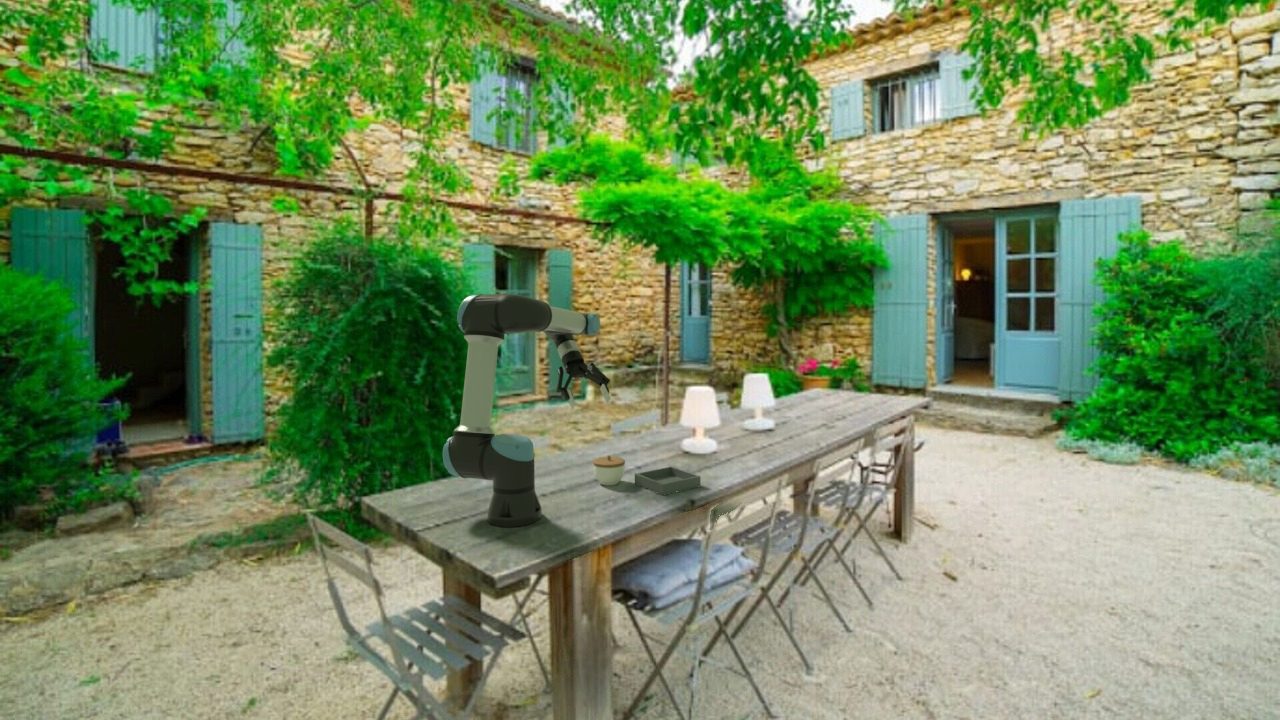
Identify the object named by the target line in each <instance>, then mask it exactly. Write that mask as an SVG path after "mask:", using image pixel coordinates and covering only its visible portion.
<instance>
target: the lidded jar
mask: <svg viewBox="0 0 1280 720" xmlns="http://www.w3.org/2000/svg"><path fill="white" fill-rule="evenodd" d="M625 463H626V460H625V459H624V458H622V457H618V456H611V455H607V456H601V457H597V458H595V459H593V461H592V464H593V473H594V477H595V478H596V480H597V481H598V482H599V483H600V485H601V486H615V485H618V484H619V482H621V480H622V479H623V477H624V474H625V467H626V466H625V465H626V464H625Z"/></svg>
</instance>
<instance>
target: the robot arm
mask: <svg viewBox="0 0 1280 720" xmlns="http://www.w3.org/2000/svg"><path fill="white" fill-rule="evenodd" d="M460 303H461V304H460V305H459V307H458V310H457V319H456V320H457V323H458V328H459V329H460V331H461V332H463V333H464V334H463V338H464V340H466V342H467V345H468V347H467V357H466V363H465V364H466V366H465V375H464V384H463V385H464V386H463V393H462V401H461V402H462V404H461V413H460V421H459V425H458V426H457V427H456V428H454V430H453V436H450V437H448V438H447V440H446V443H444V445H443V448H442V461H443V465H444V467H445V469H446V471H448V473H449V474H450V475H452V476H453V477H459V478H463V479H474V480H476V479H477V480H486V481H492V496H491V498H490V503H489V506H488V510H487V522H488V523H489V524H491V525H492V526H497V527H503V528H505V527H506V528H508V527H509V528H513V527H514V528H515V527H522V526H527V525H531V524H533V523H536V522H538V521H539V520H540V519H541V518H542V517H543V516H542V515H543V514H542V513H543V512H542V506H541V503H540V499H539V497H538V495H537V492H536V486H535V484H536V483H535V481H536V480H535V477H536V476H535V473H536V472H535V458H536V457H535V455H536V454H535V448H534V442H532V440H531V439H530V438H529V437H527V436H524V435H521V434H514V433H500V434H496V432H495V431H494V430H493V429H492V427H491V424H492V422H491V421H492V412H493V404H494V392H495V380H496V372H497V362H498V361H497V360H498V351H499V346H500V345H501V344H503V343H504V341H505V334H506V335H508V334H509V335H510V334H521V333H522V334H523V333H532V332H533V333H534V332H535V333H541V332H543V333H544V334H545V335H547V337H548V338H549V339H550V340H552V341H553V343H554V345H555V348H556V350H557V353H558V355H559V358H560V359H561V362H562V366H563V367H562V366H559V367H558V370H557V374H558V376H557V377H558V378H557V384H556V390H555V391H556V392H555V393H558V394H559V393H561V395H562V396H564V399H565V401H568V403H569V406H570V408H571V410H574V409H575V407H576V404H577V403H576V402H575V399H574V397H573V395H572V392H571V390H570V388H568V387H569V385H570V383H571V381H572V379H573V378H574V379H579V378H580V379H581V378H582V379H583V378H585V379H588V380H590V381H591V382H593V383H594V384H595V385H598V386H599V390H600V392H601V394H602V396H603V398H604V401H605V403H606V404H609V403H610V400H611V397H610V394H609V392H610V389H609V387H608V385H609V383H610V381H611V379H610V378H609V377H607V375H605V374H604V373H603V371H601V370H600V369H599V368H598V367H597V366H596V364H595V363H594V362H590V363H589V364H587V363H585V359H584V357H583V355H582V352H581V350H580V348H579V346H578V343H577V342H576V339H575V337H574V336H595V335H597V334H598V333H599V331H600V329H601V320H600V316H599V315H598V314H597V313H590V312H589V313H585V312H584V313H583V312H578V311H574V310H571V309H570V310H569V309H565V308H561V307H555V306H552V305H551V306H550V305H549V304H548V302H546V301H543V300H540V299H536V298H533V297H532V298H531V297H529V296H525V295H521V294H515V293H508V294H507V293H506V294H505V293H504V294H503V293H500V294H498V293H495V294H494V293H492V294H491V293H489V294H488V293H479V294H472V295H468V296H467V297H466V298H465V299H463V300H462V301H461V302H460ZM565 374H567V375H568V378H567V380H566V382H565V384H564V386H563V381H564V375H565Z"/></svg>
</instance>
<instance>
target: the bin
mask: <svg viewBox="0 0 1280 720" xmlns="http://www.w3.org/2000/svg"><path fill="white" fill-rule="evenodd" d="M636 484H638V485H637V486H639V485H640V486H639V487H641V486H643V487H642V488H644V487H645V488H644V489H646V488H648V489H650V490H649V491H651V490H653V491H655V492H654V493H656V492H658V493H660V494H662V495H661V496H665V495H664V494H667V495H669V494H668V493H671V494H673V493H672V492H676V491H680V492H682V491H681V490H684V491H687V490H686V489H688V490H691V489H690V488H693V489H696V488H695V487H697V488H699V487H698V486H700V487H701V476H700V475H697V474H695V473H692V472H689V471H686V470H683V469H681V468H677V467H675V466H665V467H662V468H657V469H656V468H655V469H651V470H645V471H641V472H637V473H634V485H636ZM648 489H647V490H648ZM653 491H652V492H653ZM658 493H657V494H658ZM676 493H677V492H676ZM660 494H659V495H660Z"/></svg>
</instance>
